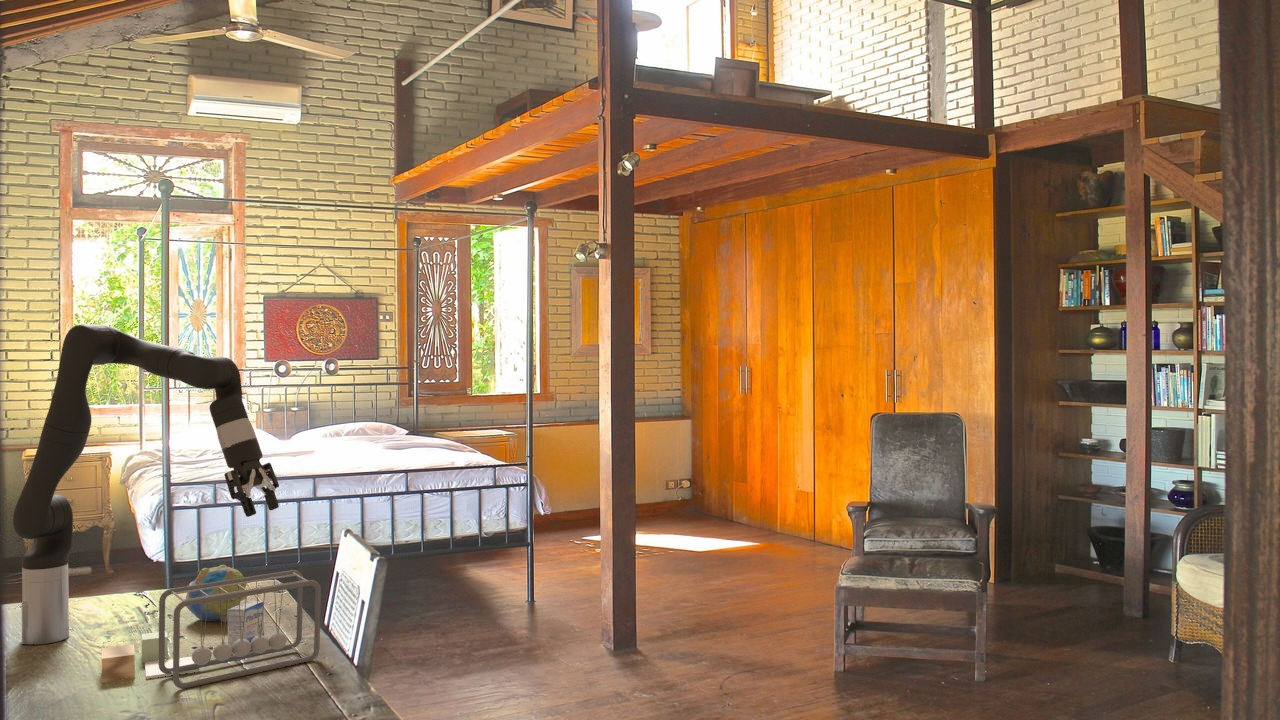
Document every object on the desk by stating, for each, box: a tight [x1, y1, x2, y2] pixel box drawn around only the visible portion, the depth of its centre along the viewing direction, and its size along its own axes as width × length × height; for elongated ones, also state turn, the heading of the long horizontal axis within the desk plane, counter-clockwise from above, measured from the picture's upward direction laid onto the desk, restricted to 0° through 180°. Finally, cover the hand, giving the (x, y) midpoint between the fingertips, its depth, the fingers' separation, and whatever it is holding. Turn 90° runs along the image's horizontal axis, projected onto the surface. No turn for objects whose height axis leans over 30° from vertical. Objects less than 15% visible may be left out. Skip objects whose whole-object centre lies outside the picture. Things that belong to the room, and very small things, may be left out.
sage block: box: [141, 630, 169, 664], centre depth 221 cm, size 5×5×5 cm
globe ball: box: [185, 564, 248, 624], centre depth 252 cm, size 14×16×15 cm
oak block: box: [100, 644, 136, 683], centre depth 210 cm, size 6×8×5 cm
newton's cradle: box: [158, 569, 322, 689], centre depth 213 cm, size 30×10×18 cm, turn 131°
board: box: [144, 656, 200, 680], centre depth 214 cm, size 10×10×1 cm
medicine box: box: [227, 600, 265, 647], centre depth 232 cm, size 8×4×9 cm, turn 168°
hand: (263, 512), depth 222 cm, fingers open, 8 cm apart
